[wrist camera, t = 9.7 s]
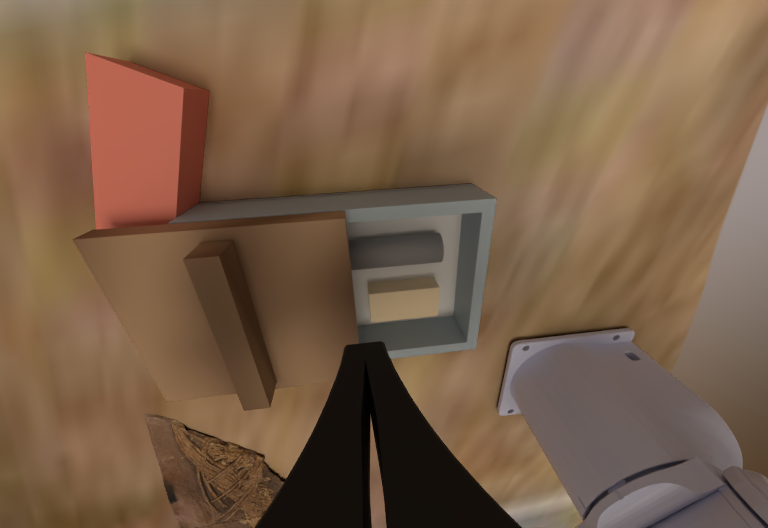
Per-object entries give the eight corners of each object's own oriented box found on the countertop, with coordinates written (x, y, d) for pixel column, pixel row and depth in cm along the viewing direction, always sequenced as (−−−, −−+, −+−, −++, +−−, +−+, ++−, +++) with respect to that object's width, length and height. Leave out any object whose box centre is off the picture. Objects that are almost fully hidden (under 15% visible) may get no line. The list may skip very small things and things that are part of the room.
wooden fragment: (321, 544, 34) (321, 557, 33) (224, 564, 33) (221, 577, 32) (247, 393, 22) (242, 406, 21) (93, 420, 21) (81, 434, 20)
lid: (345, 210, 13) (344, 232, 10) (361, 364, 17) (363, 402, 15) (93, 229, 12) (34, 257, 10) (176, 385, 16) (149, 430, 14)
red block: (212, 91, 13) (183, 88, 11) (196, 259, 16) (172, 283, 14) (133, 62, 12) (85, 52, 10) (134, 244, 16) (98, 268, 13)
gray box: (471, 183, 16) (496, 198, 13) (458, 317, 20) (476, 348, 17) (199, 202, 15) (167, 223, 12) (246, 340, 19) (230, 377, 16)
